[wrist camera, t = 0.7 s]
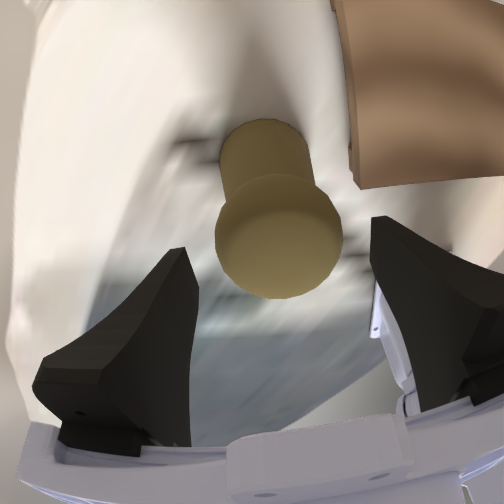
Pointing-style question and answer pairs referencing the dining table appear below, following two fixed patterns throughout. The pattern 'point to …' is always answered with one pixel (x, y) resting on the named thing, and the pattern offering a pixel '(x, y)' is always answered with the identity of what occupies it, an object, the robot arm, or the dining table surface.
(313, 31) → the dining table surface
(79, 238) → the dining table surface
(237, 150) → the olive bulb-shaped piece
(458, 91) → the tan square board
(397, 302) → the robot arm
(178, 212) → the dining table surface
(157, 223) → the dining table surface
